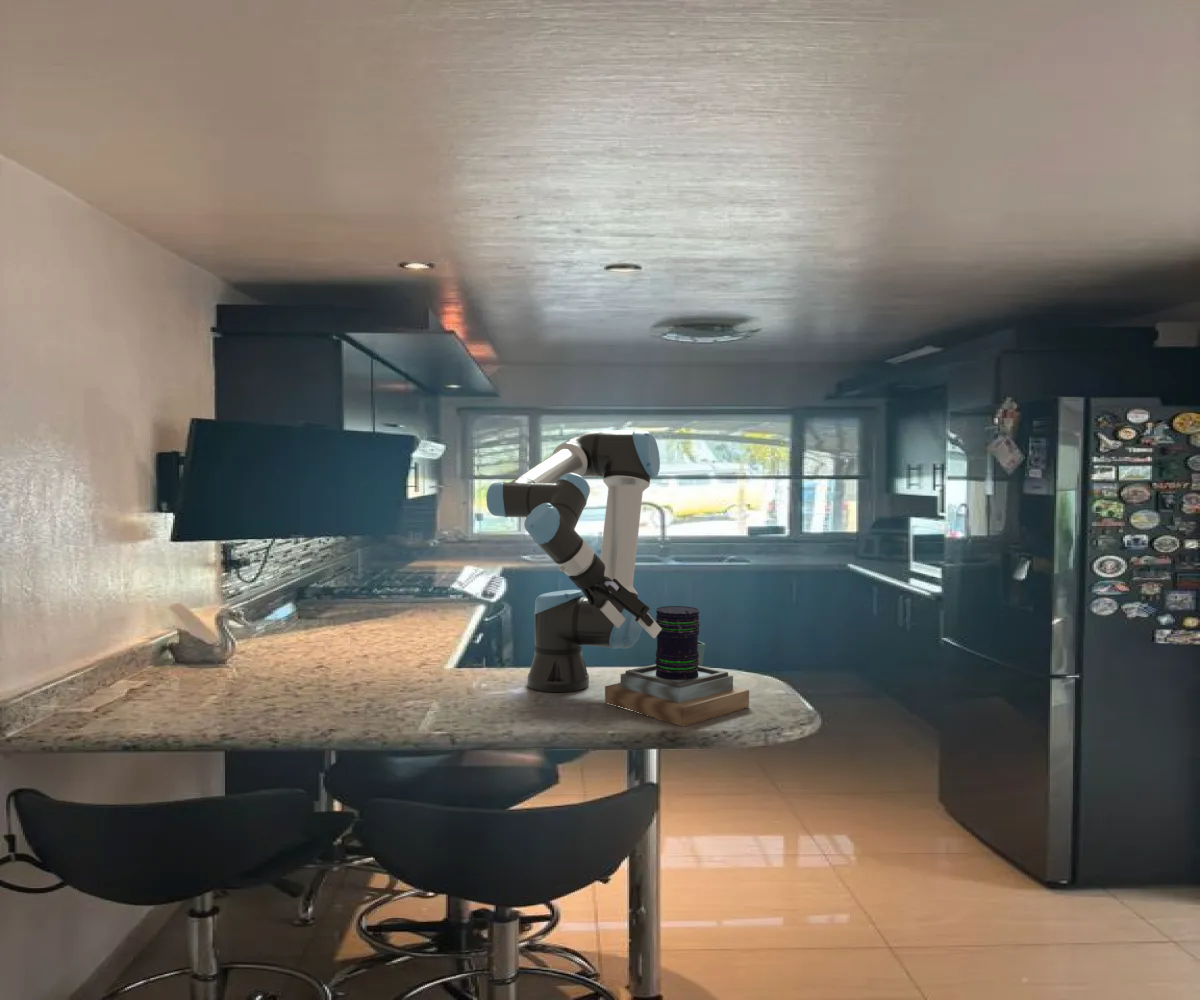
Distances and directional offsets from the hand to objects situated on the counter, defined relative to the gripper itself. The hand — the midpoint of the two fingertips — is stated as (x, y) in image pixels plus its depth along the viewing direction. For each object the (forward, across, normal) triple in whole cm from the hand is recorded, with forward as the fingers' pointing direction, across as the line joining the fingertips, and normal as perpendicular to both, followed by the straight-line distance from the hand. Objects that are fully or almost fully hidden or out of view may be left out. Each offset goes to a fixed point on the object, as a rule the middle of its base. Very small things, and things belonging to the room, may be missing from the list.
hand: (638, 628), depth 204 cm
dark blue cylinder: (+16, 0, -1) cm, 16 cm away
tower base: (+21, 0, -6) cm, 21 cm away
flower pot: (+34, -21, +7) cm, 41 cm away
